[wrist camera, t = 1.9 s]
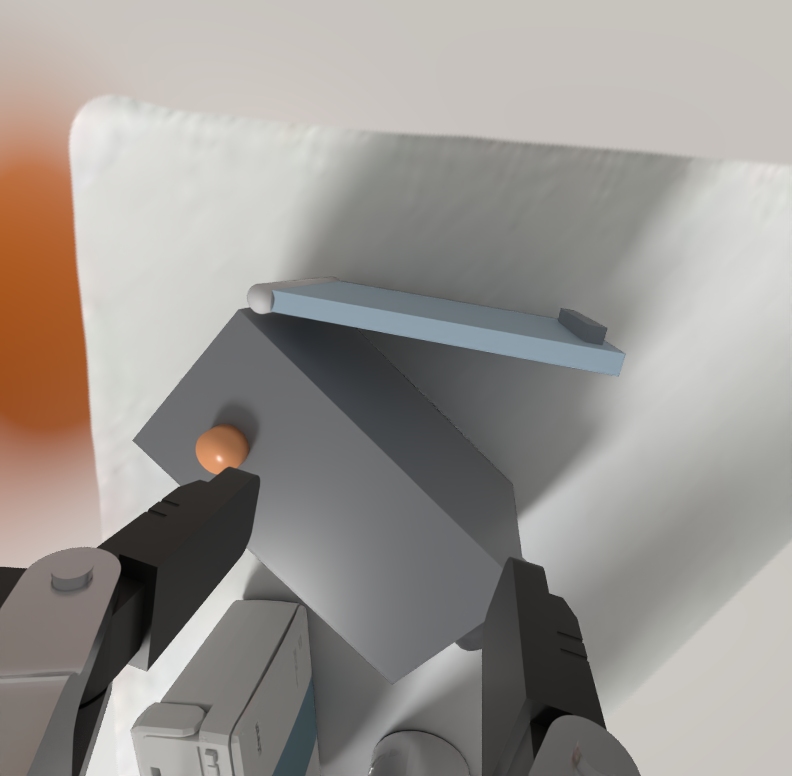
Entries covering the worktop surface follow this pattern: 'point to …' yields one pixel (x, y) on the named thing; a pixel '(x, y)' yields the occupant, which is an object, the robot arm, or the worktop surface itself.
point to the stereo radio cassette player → (238, 701)
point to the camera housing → (346, 483)
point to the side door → (444, 322)
